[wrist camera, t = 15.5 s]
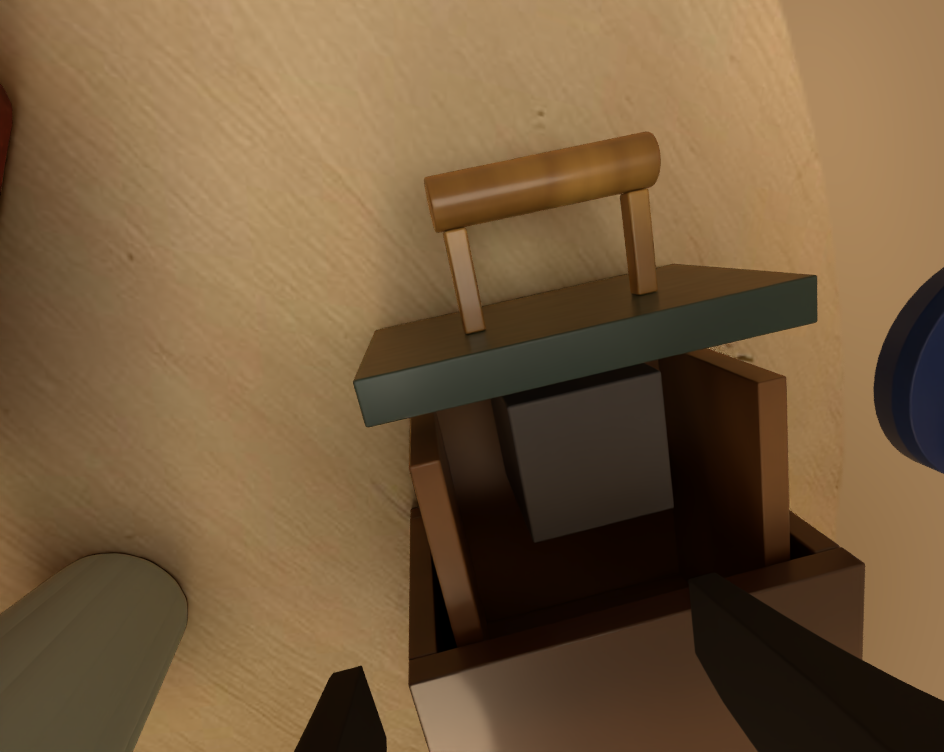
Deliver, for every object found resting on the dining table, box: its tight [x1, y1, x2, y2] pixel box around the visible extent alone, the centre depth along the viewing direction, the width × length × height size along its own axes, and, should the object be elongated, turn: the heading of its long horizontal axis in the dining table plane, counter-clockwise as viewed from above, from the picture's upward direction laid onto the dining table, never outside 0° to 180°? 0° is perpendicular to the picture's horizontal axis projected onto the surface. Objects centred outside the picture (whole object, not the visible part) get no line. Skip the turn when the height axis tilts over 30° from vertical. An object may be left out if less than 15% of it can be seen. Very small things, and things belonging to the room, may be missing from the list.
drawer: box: [353, 132, 817, 648], centre depth 16 cm, size 18×11×7 cm, turn 12°
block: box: [491, 363, 674, 543], centre depth 16 cm, size 4×4×4 cm
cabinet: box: [408, 508, 865, 752], centre depth 19 cm, size 15×13×9 cm
